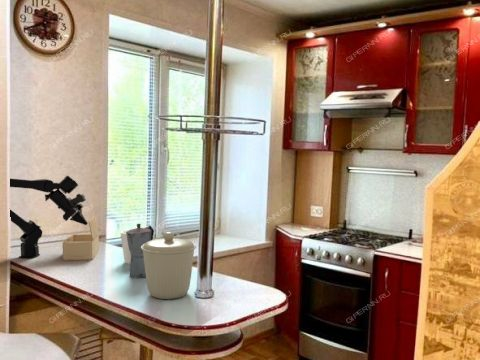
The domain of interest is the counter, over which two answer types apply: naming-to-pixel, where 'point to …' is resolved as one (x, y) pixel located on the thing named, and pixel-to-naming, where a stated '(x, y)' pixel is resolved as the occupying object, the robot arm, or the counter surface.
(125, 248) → the foam cup
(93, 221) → the carton flap
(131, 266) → the moka pot
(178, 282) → the canister
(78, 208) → the robot arm
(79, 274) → the counter surface
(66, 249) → the carton
